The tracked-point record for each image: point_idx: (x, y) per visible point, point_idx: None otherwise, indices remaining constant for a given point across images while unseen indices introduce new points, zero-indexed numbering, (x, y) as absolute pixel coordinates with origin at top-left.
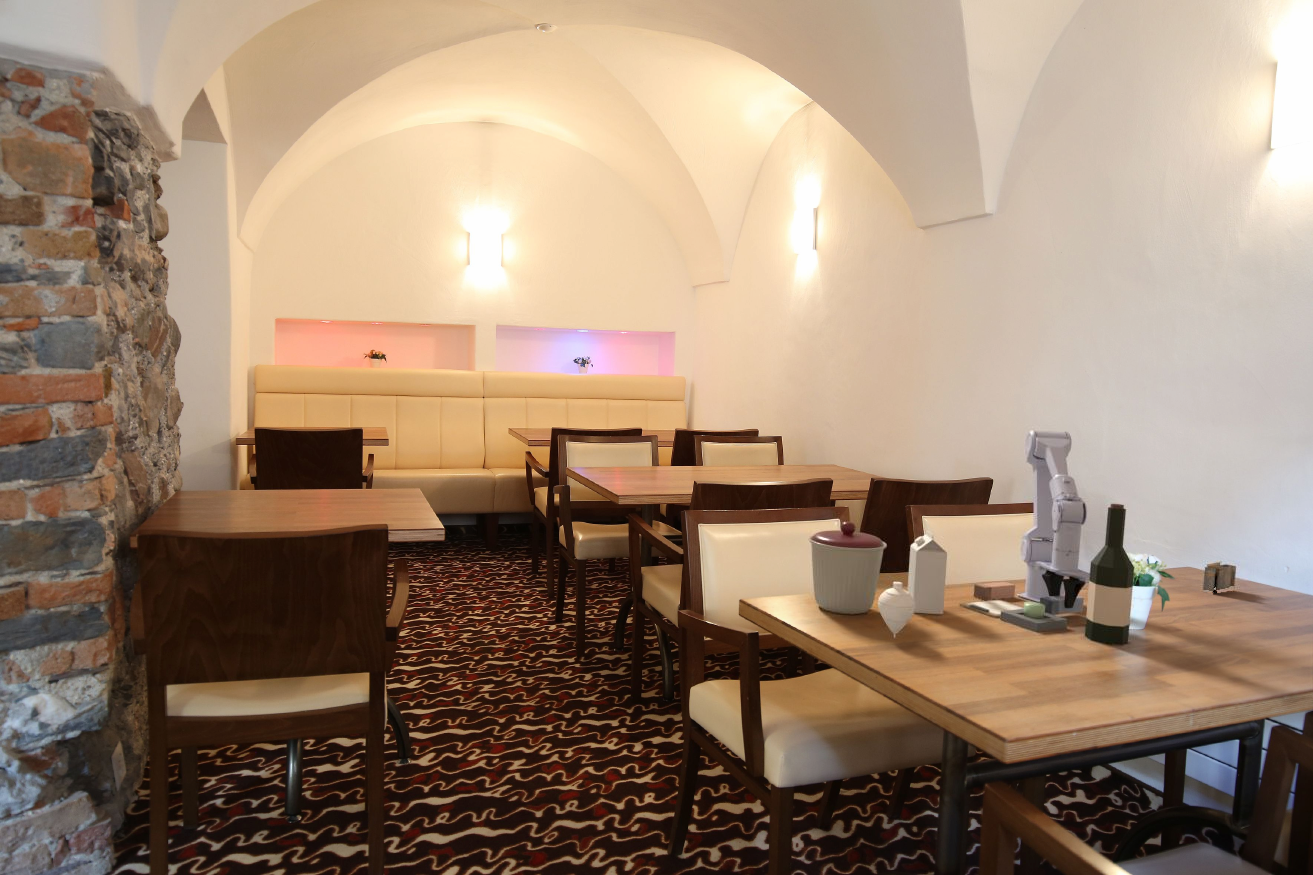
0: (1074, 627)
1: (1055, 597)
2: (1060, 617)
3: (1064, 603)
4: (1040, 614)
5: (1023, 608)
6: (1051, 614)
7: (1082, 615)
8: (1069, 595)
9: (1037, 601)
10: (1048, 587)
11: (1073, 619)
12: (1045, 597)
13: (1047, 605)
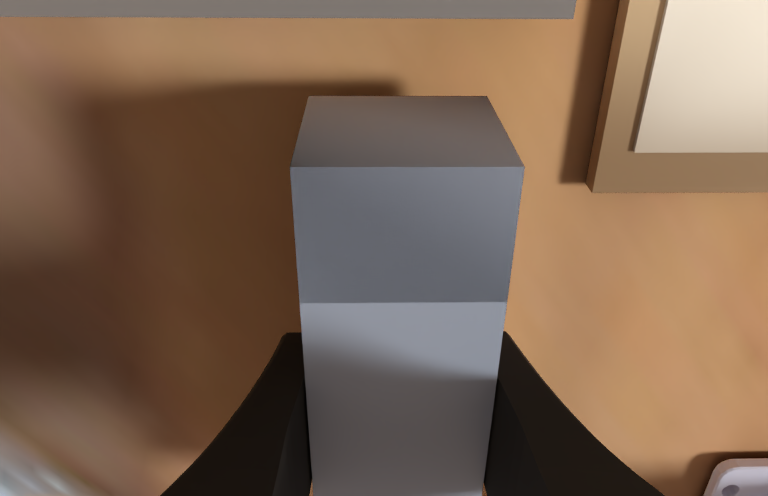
0: (49, 111)
1: (435, 373)
2: (78, 8)
3: None
4: None
5: (719, 124)
6: (226, 12)
7: None
8: (213, 440)
9: (765, 458)
10: (581, 453)
11: (292, 332)
12: (492, 250)
13: (378, 136)
